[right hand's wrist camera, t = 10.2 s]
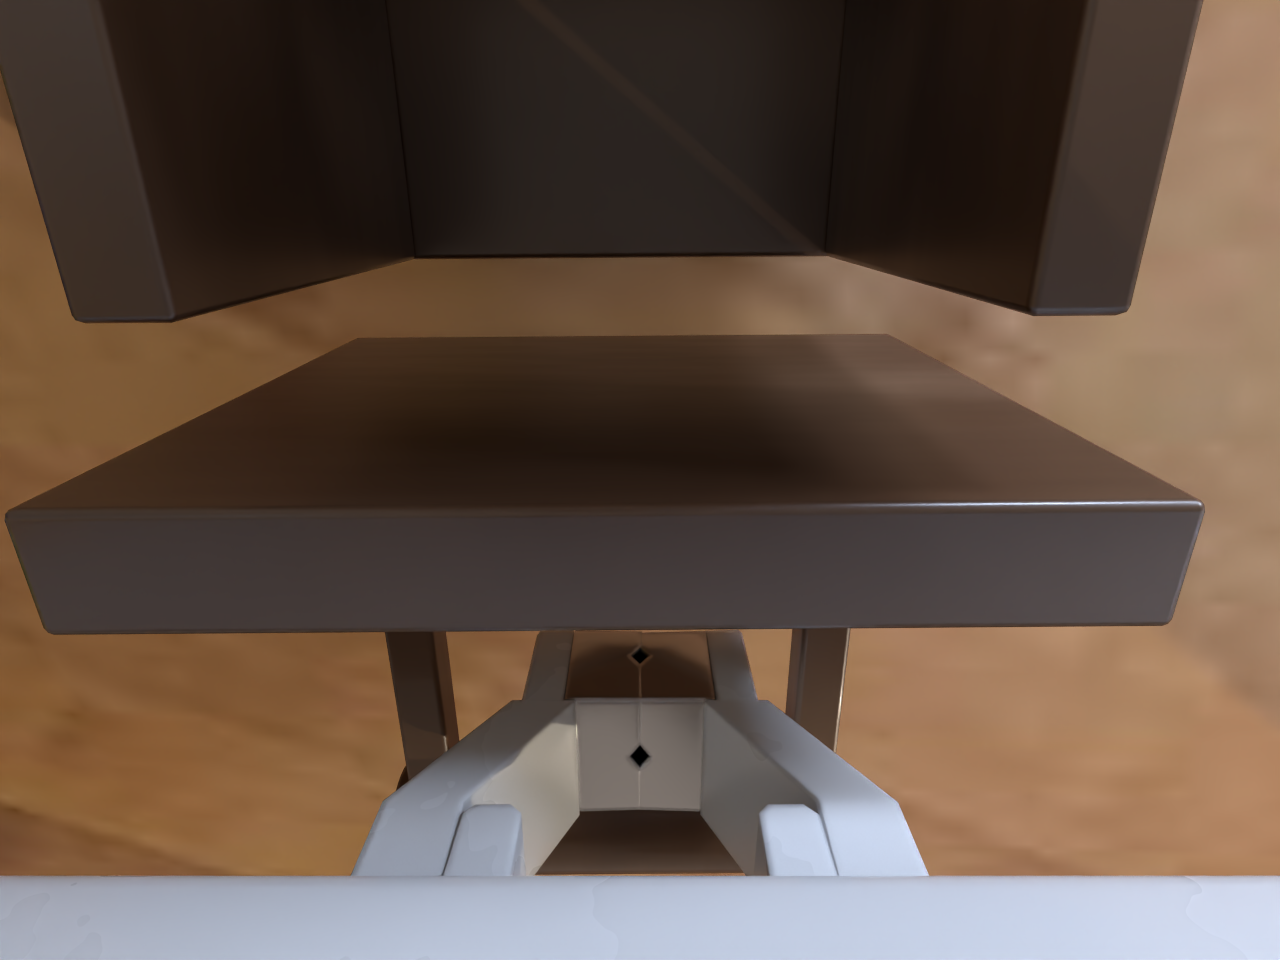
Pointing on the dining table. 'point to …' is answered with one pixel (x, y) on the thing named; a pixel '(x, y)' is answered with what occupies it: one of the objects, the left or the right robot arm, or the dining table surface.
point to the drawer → (601, 365)
